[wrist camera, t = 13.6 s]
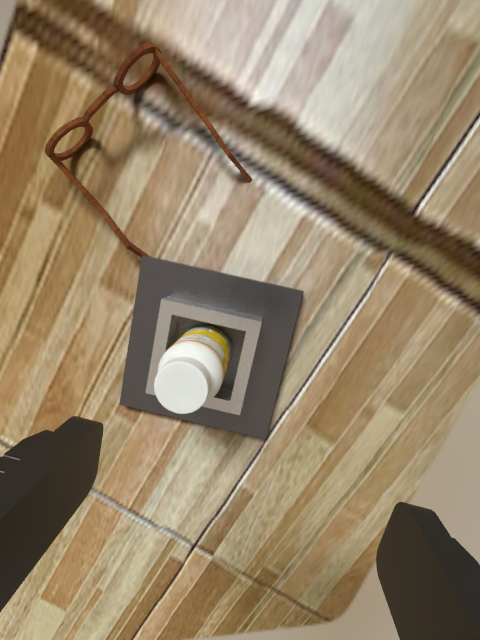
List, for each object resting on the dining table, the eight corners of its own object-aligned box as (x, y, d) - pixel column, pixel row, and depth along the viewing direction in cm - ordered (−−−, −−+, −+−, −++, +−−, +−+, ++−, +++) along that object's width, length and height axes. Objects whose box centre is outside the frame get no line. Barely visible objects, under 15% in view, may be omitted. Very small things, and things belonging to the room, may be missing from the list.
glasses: (164, 62, 29) (143, 21, 24) (252, 180, 30) (250, 164, 25) (65, 162, 31) (28, 143, 26) (152, 267, 32) (132, 268, 27)
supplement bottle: (203, 313, 31) (177, 336, 22) (242, 350, 31) (234, 387, 22) (168, 351, 32) (129, 388, 23) (207, 386, 32) (184, 437, 23)
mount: (145, 255, 31) (131, 255, 28) (302, 290, 31) (307, 294, 28) (123, 400, 35) (108, 415, 31) (265, 434, 34) (265, 453, 31)
